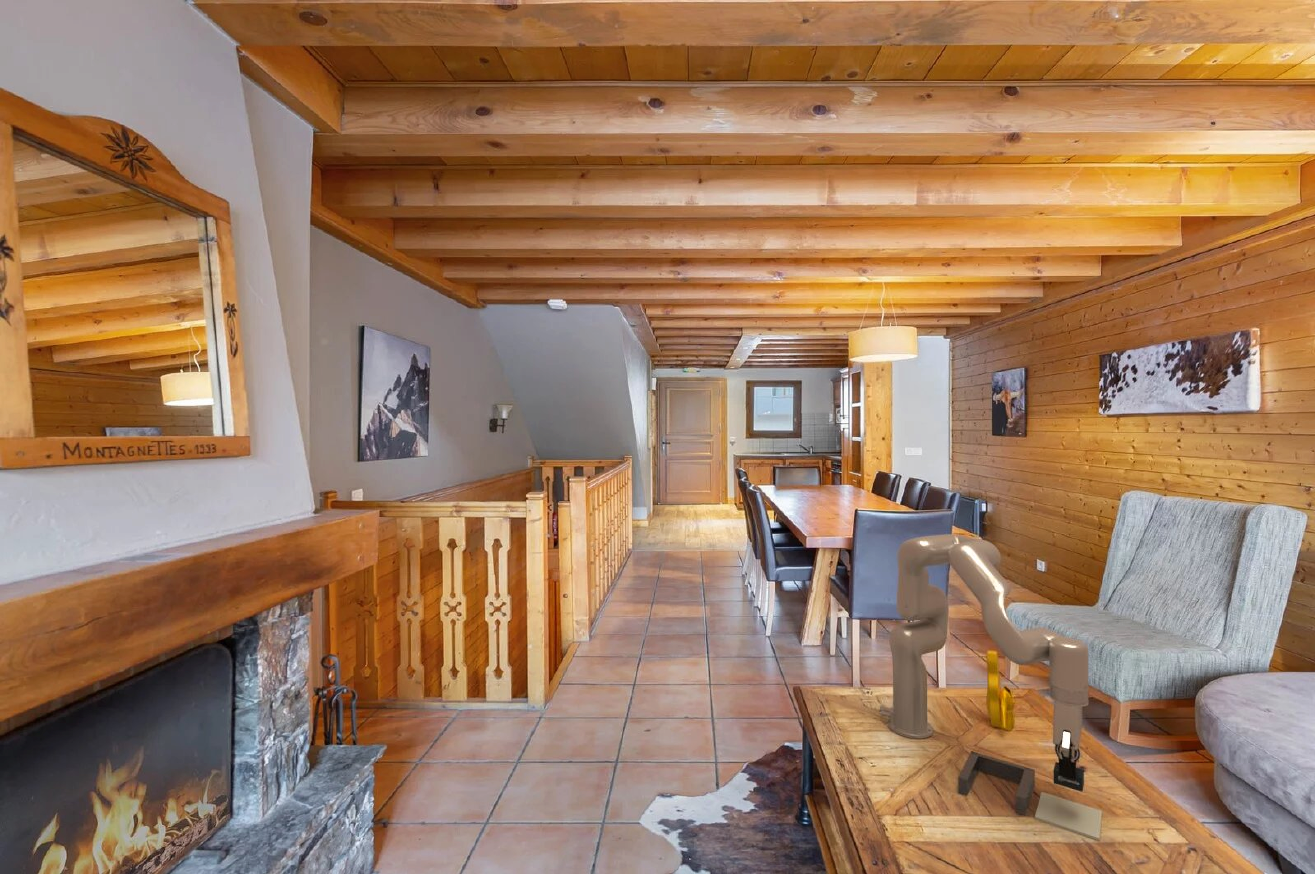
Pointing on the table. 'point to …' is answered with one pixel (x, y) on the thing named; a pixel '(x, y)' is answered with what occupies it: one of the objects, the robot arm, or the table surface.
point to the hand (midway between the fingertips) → (1069, 767)
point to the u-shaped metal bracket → (999, 770)
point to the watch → (1065, 781)
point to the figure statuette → (998, 696)
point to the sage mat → (1069, 815)
